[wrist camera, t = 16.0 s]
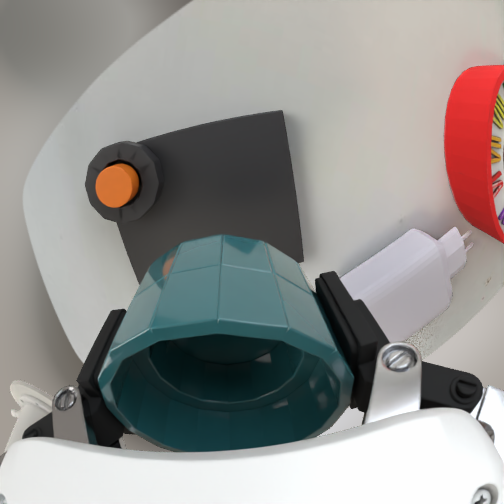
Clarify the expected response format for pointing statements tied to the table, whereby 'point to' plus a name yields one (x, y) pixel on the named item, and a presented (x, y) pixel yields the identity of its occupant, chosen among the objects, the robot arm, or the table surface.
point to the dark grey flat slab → (205, 187)
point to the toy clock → (477, 147)
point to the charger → (409, 280)
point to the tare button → (117, 185)
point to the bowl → (225, 351)
